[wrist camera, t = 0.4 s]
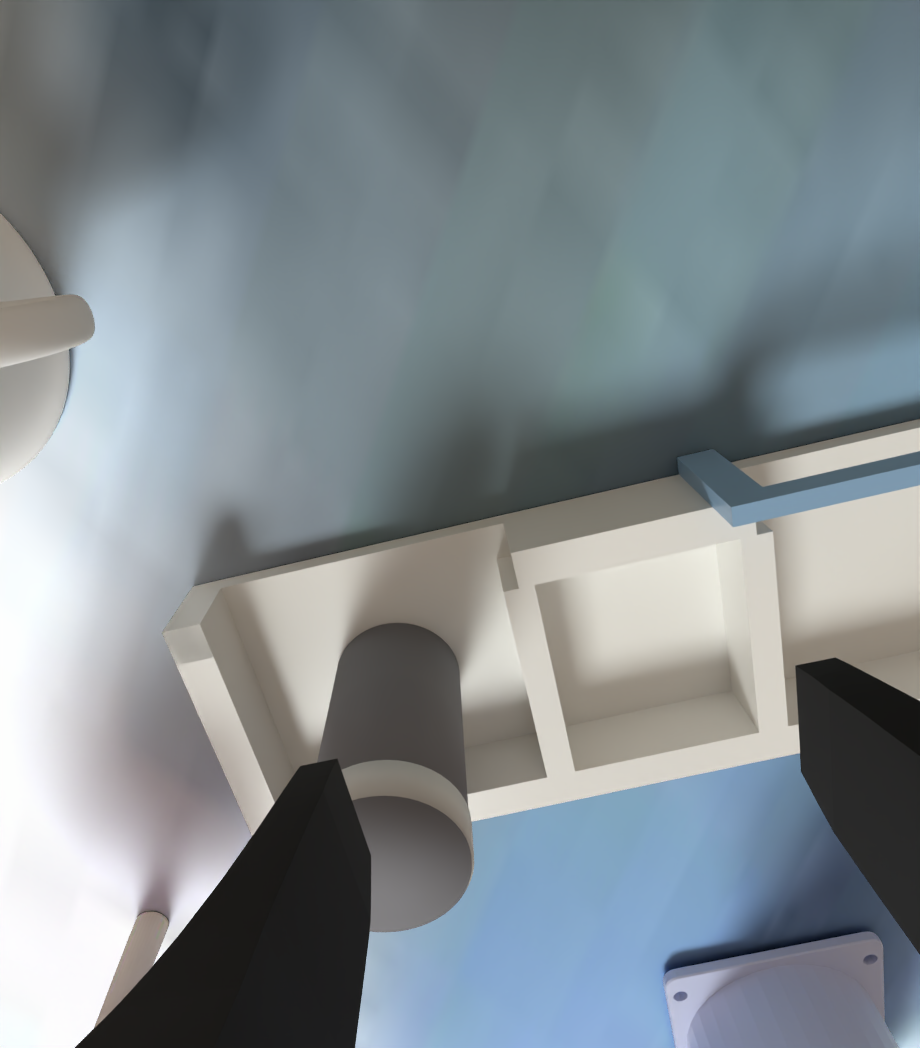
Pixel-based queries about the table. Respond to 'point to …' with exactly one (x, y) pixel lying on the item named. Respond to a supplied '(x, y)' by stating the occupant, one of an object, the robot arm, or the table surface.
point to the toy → (135, 958)
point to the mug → (32, 351)
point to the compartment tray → (589, 624)
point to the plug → (404, 769)
